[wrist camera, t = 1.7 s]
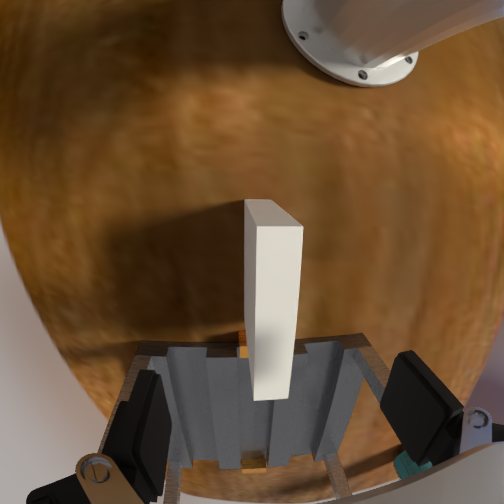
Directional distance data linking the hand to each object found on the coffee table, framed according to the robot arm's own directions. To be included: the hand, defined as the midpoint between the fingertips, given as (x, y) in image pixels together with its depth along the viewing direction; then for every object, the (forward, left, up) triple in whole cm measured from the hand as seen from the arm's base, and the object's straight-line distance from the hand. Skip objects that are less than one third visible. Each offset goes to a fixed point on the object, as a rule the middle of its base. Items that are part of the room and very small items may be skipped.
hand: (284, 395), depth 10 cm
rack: (+16, 0, -14) cm, 22 cm away
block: (-1, 0, -14) cm, 14 cm away
